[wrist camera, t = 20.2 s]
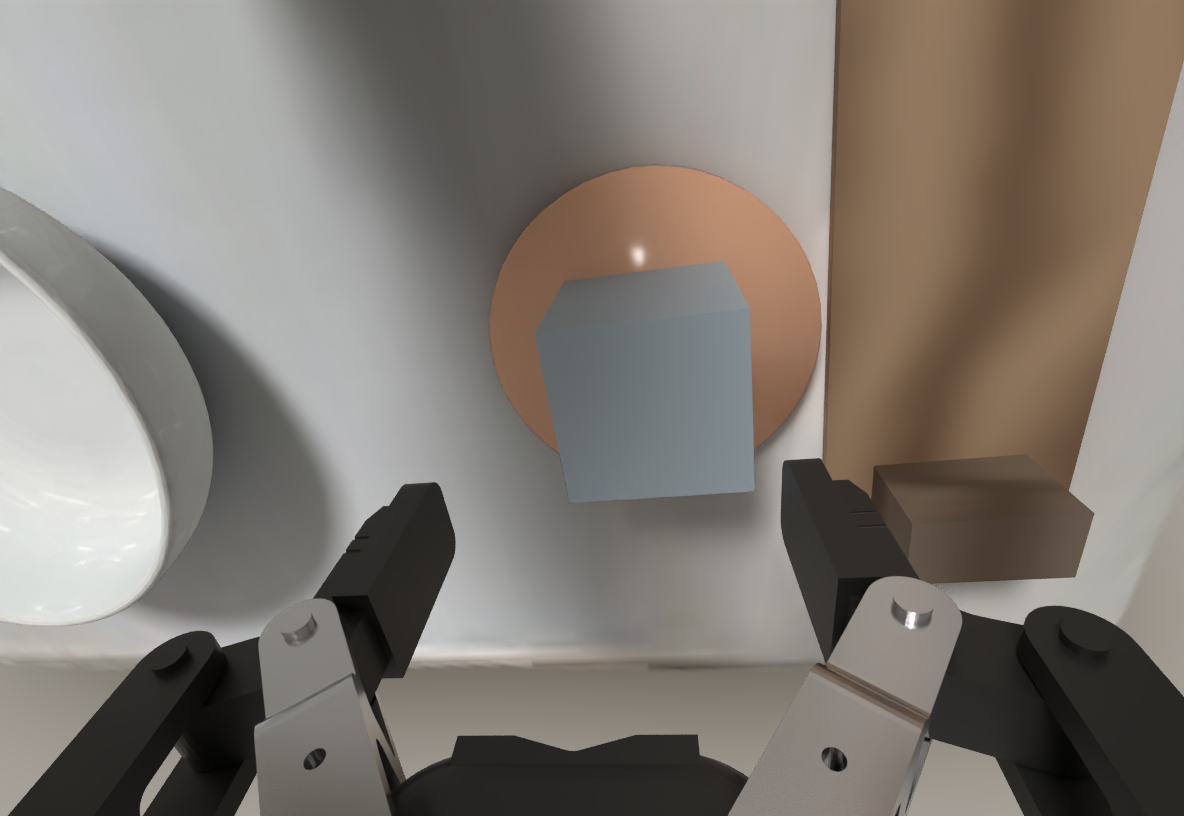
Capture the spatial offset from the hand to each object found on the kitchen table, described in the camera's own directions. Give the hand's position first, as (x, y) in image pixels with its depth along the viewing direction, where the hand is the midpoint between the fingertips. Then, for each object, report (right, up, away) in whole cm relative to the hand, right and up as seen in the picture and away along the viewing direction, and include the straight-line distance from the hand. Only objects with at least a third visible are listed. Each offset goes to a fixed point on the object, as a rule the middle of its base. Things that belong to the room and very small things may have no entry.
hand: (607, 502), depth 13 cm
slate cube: (+2, +5, +9) cm, 10 cm away
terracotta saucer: (+2, +5, +10) cm, 12 cm away
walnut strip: (+14, +7, +8) cm, 17 cm away
